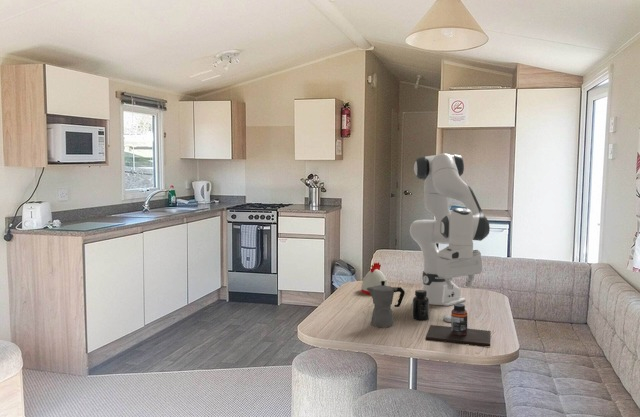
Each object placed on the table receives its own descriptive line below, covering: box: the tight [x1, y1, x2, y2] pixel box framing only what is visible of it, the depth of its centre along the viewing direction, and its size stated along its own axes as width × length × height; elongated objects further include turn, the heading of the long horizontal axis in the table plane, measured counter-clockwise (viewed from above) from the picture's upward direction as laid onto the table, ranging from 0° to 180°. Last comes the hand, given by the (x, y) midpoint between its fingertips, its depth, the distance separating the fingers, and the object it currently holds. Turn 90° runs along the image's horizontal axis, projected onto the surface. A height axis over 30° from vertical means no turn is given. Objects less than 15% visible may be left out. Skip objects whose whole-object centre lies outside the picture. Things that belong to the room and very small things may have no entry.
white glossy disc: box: [443, 314, 451, 323], centre depth 226 cm, size 8×8×1 cm
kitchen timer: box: [361, 262, 389, 296], centre depth 274 cm, size 14×14×15 cm
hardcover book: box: [425, 324, 492, 347], centre depth 205 cm, size 16×23×2 cm
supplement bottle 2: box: [450, 302, 468, 336], centre depth 204 cm, size 6×6×11 cm
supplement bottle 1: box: [412, 289, 430, 322], centre depth 227 cm, size 7×7×12 cm
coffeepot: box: [367, 281, 406, 328], centre depth 219 cm, size 15×9×18 cm, turn 82°
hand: (459, 287), depth 203 cm, fingers open, 8 cm apart
